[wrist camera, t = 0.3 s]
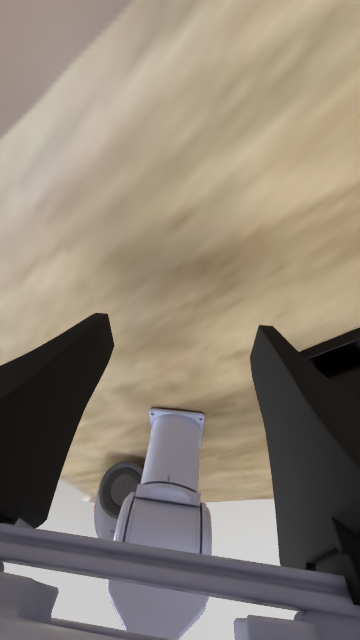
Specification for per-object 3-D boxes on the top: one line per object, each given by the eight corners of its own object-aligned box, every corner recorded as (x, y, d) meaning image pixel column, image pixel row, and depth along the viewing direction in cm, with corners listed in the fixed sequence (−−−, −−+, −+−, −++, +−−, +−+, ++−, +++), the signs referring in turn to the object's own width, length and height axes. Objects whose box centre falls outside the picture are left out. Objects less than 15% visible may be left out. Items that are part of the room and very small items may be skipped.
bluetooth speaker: (108, 448, 42) (84, 517, 33) (156, 459, 42) (144, 530, 34) (103, 488, 55) (85, 544, 47) (140, 496, 55) (128, 553, 47)
